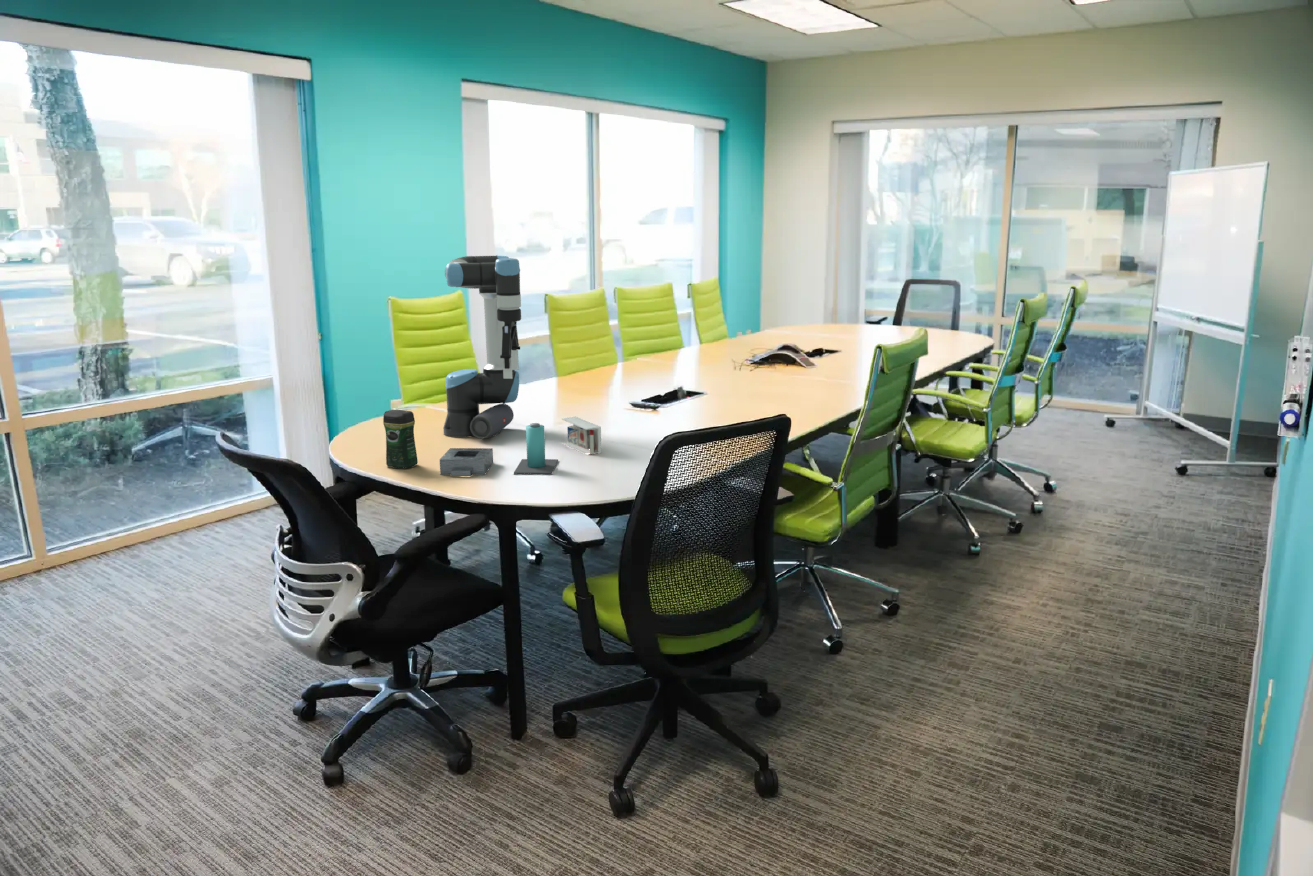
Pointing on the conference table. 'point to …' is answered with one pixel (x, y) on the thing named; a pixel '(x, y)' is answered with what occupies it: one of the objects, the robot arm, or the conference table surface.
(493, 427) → the bluetooth speaker
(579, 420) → the cigarette display
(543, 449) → the teal cylinder
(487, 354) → the robot arm
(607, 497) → the conference table surface
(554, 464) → the mat
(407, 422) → the coffee jar
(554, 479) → the conference table surface
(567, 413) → the conference table surface
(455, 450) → the housing
